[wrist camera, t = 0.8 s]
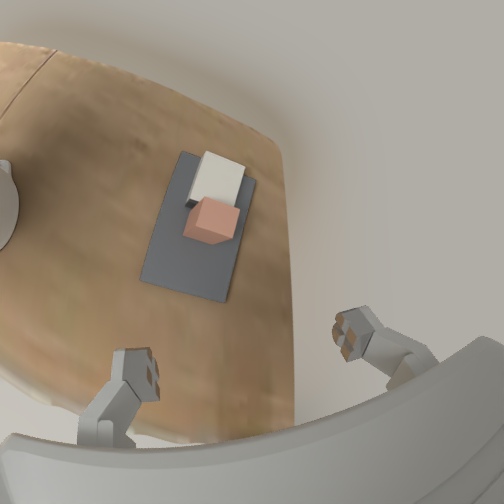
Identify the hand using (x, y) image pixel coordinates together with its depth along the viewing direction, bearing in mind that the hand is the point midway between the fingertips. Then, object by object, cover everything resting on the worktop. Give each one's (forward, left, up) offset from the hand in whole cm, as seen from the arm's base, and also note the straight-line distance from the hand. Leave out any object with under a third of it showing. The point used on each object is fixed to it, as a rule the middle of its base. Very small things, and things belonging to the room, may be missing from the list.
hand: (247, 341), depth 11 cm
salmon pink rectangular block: (+3, +11, -31) cm, 33 cm away
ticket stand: (+3, +12, -33) cm, 35 cm away
